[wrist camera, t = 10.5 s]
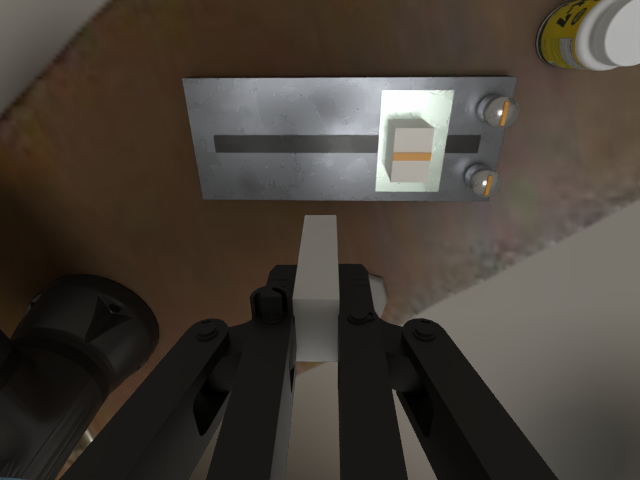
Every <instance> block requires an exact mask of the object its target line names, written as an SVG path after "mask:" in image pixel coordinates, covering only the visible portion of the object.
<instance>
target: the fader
mask: <svg viewBox="0 0 640 480" xmlns="http://www.w3.org/2000/svg"><path fill="white" fill-rule="evenodd" d="M434 129H435V128H434V127H433V126H431V125H430V124H429V123H428V122H426V121H425V120H424V119H389V120H388V132H387V145H386V157H385V170H386V173H387V175H388V178H389V180H390V182H391V183H427V179H428V172H429V165H430V161H431V156H432V153H431V151H432V144H433V137H434Z"/></svg>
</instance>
